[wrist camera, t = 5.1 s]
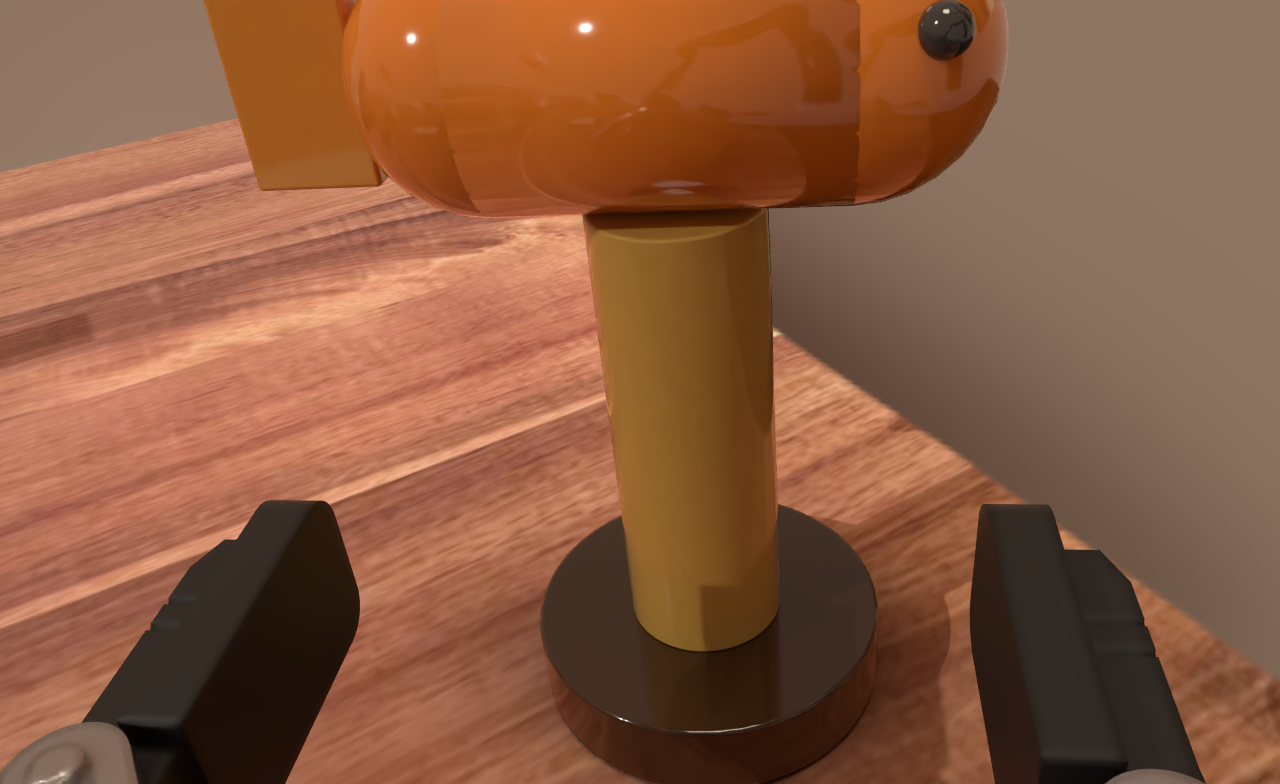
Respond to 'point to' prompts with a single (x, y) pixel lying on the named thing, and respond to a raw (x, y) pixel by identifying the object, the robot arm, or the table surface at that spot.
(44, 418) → the table surface
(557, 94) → the goldfish figurine
